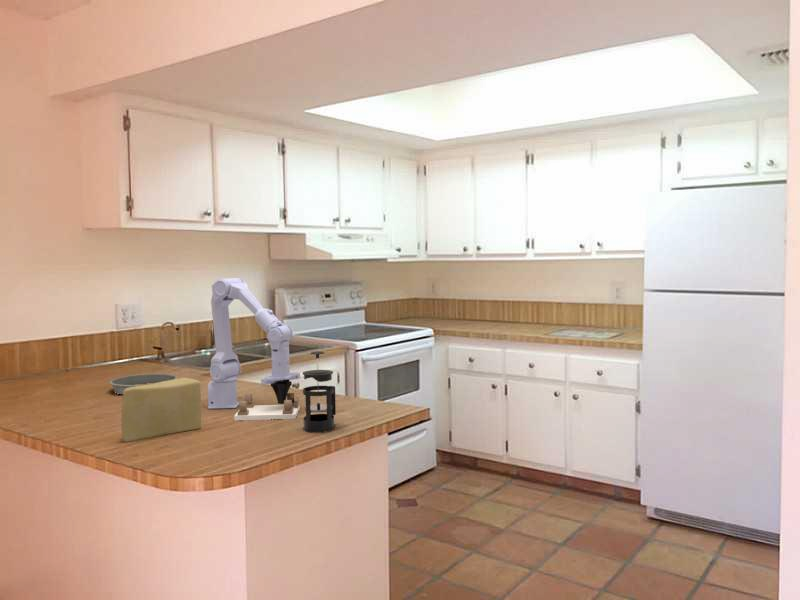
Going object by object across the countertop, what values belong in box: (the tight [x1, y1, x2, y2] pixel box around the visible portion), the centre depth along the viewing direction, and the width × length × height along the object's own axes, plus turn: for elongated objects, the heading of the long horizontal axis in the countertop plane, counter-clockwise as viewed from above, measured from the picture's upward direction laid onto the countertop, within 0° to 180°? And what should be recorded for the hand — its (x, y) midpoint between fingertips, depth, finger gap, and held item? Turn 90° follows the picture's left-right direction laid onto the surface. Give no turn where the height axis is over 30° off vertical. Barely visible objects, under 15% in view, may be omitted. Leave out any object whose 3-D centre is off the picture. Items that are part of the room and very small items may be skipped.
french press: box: [302, 350, 337, 433], centre depth 195 cm, size 12×9×23 cm
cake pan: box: [109, 373, 179, 394], centre depth 256 cm, size 25×25×4 cm
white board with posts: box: [233, 393, 301, 422], centre depth 213 cm, size 19×14×6 cm
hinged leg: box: [286, 392, 295, 409], centre depth 216 cm, size 8×2×4 cm, turn 5°
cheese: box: [121, 377, 202, 443], centre depth 191 cm, size 22×10×15 cm, turn 138°
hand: (281, 403), depth 216 cm, fingers closed
